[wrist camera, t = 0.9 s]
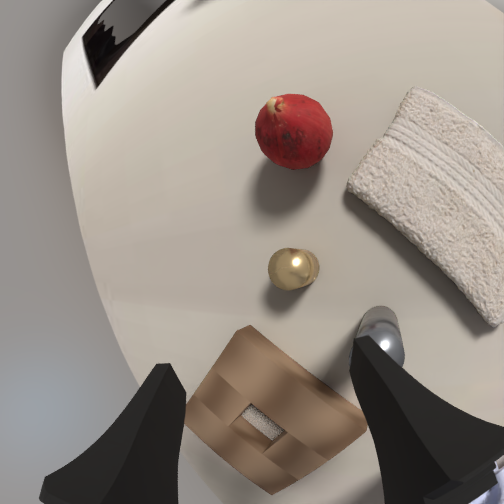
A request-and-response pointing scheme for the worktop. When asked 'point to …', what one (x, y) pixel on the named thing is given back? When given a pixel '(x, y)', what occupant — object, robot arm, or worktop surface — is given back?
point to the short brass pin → (293, 268)
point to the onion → (293, 131)
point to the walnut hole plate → (270, 413)
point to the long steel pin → (383, 332)
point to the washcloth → (442, 193)
